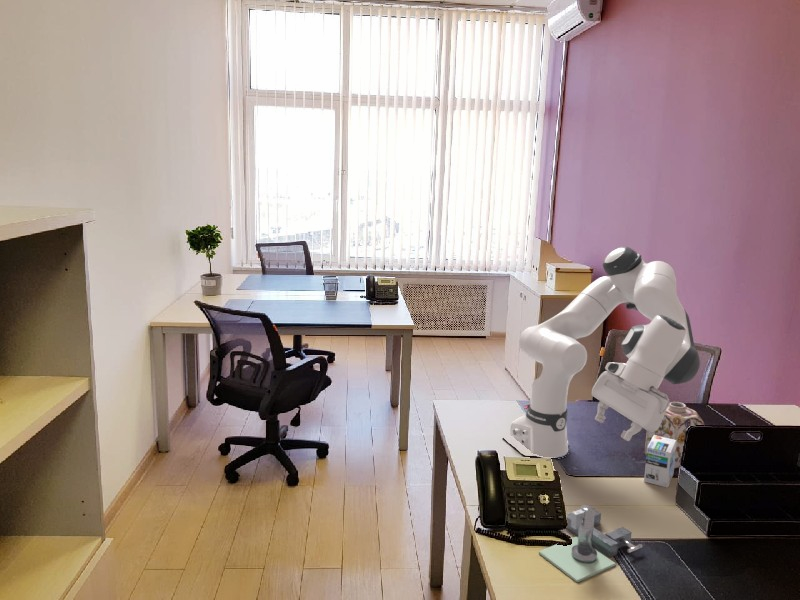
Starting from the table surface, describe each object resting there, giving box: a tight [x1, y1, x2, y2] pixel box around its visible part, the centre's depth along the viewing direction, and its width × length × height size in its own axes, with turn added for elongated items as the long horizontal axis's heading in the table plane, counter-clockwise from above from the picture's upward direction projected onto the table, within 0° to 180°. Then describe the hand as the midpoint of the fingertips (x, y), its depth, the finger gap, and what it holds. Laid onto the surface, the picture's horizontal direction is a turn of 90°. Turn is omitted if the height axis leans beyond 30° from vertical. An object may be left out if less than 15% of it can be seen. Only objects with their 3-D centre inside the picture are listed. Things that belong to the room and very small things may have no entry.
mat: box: [538, 536, 616, 583], centre depth 142 cm, size 12×12×1 cm
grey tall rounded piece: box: [571, 504, 597, 564], centre depth 141 cm, size 6×7×12 cm
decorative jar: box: [644, 401, 705, 470], centre depth 190 cm, size 12×12×18 cm
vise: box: [566, 509, 644, 558], centre depth 150 cm, size 17×9×3 cm, turn 30°
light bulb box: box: [643, 435, 677, 488], centre depth 179 cm, size 11×7×11 cm, turn 148°
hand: (611, 430), depth 148 cm, fingers open, 8 cm apart
